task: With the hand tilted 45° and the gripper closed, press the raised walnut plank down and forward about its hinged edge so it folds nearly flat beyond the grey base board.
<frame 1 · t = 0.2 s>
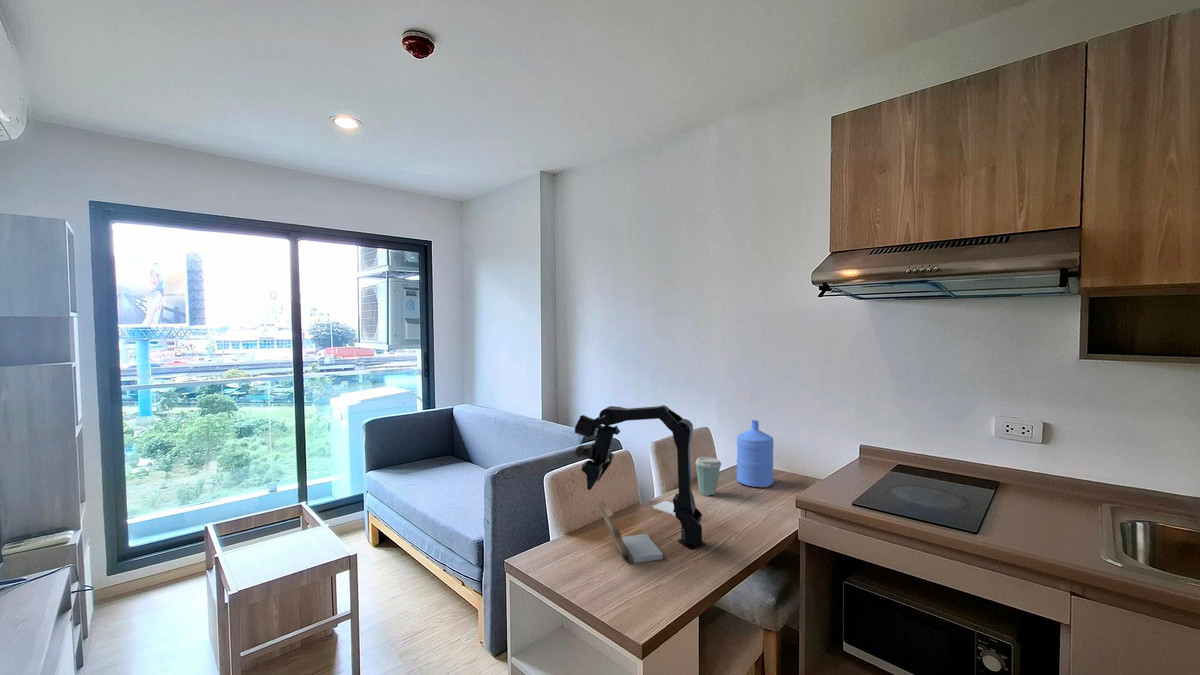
hand: (593, 485, 161), 15 cm above the table, tool pointing down, fingers open, 9 cm apart
base board: (638, 550, 145), on the table
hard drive: (672, 511, 177), on the table
water jug: (754, 483, 208), on the table
plank: (612, 528, 143), point 8 cm above the table, hinge at -70.0°
disposable coffee cup: (708, 494, 194), on the table
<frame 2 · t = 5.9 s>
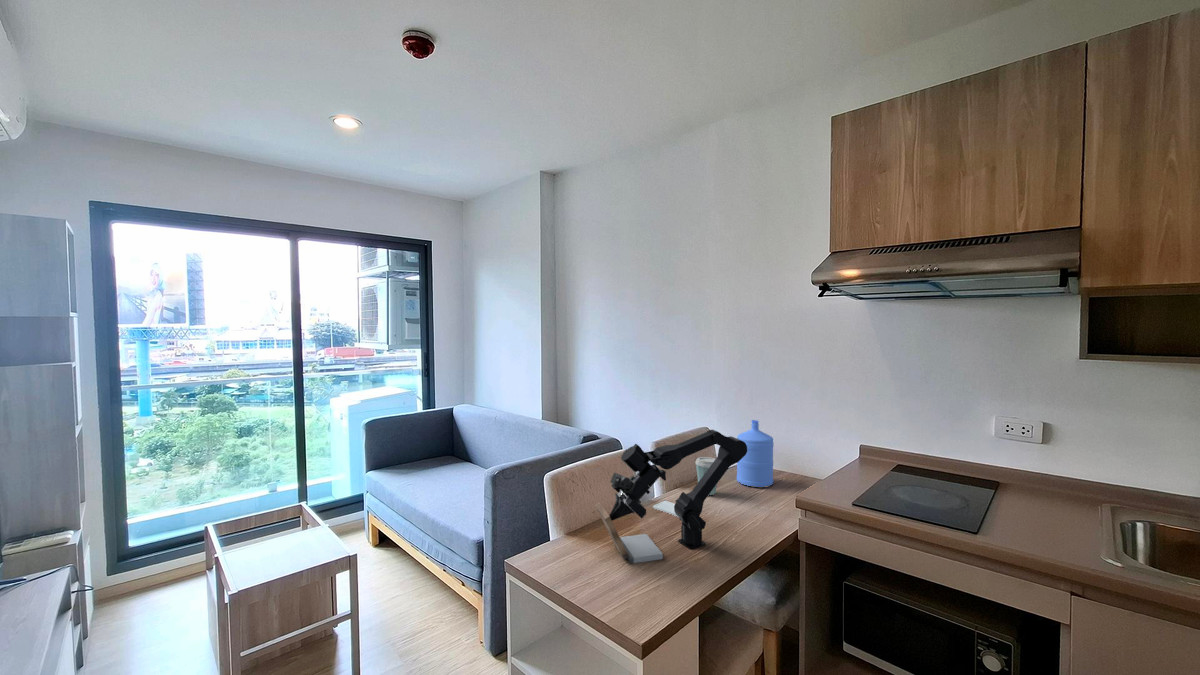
hand: (609, 519, 142), 11 cm above the table, tool tilted 45°, fingers closed, pressing on plank
plank: (611, 529, 143), point 8 cm above the table, hinge at -65.2°, touching gripper
everything else where it was.
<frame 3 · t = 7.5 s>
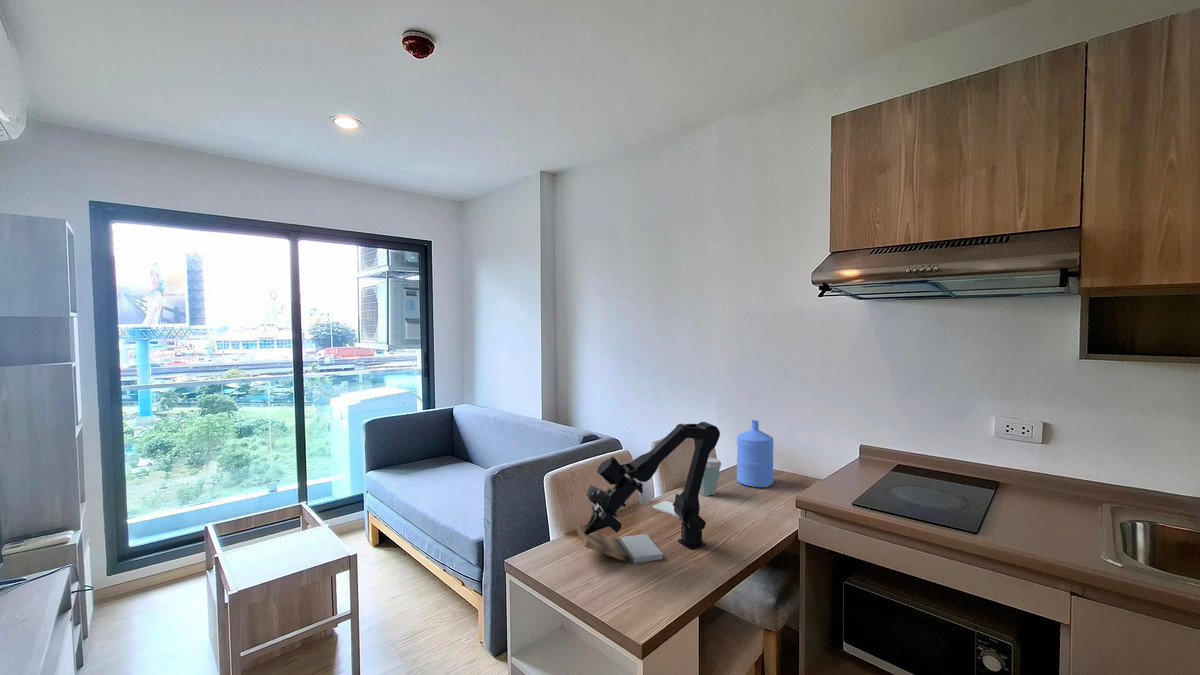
hand: (585, 533, 140), 7 cm above the table, tool tilted 45°, fingers closed
plank: (601, 542, 142), point 4 cm above the table, hinge at -25.5°
everything else where it was.
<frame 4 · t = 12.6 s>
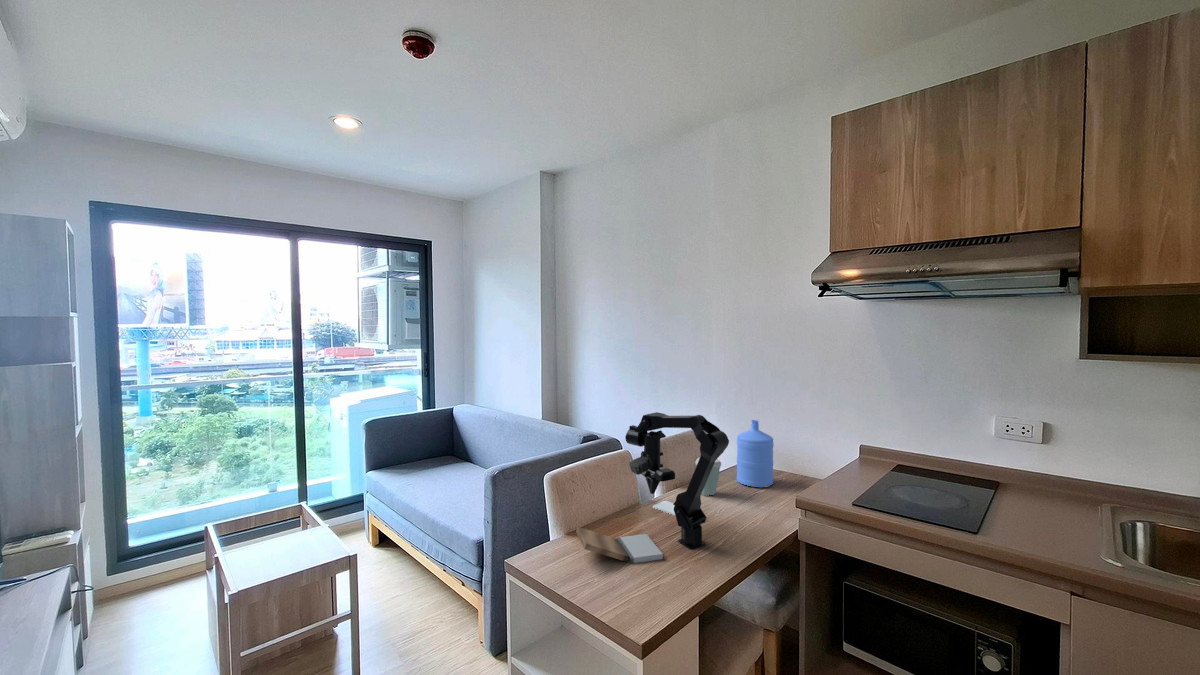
hand: (652, 493, 161), 12 cm above the table, tool pointing down, fingers closed
plank: (601, 543, 142), point 4 cm above the table, hinge at -23.1°
everything else where it was.
at the end: plank at -23° (first picture: -70°) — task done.
